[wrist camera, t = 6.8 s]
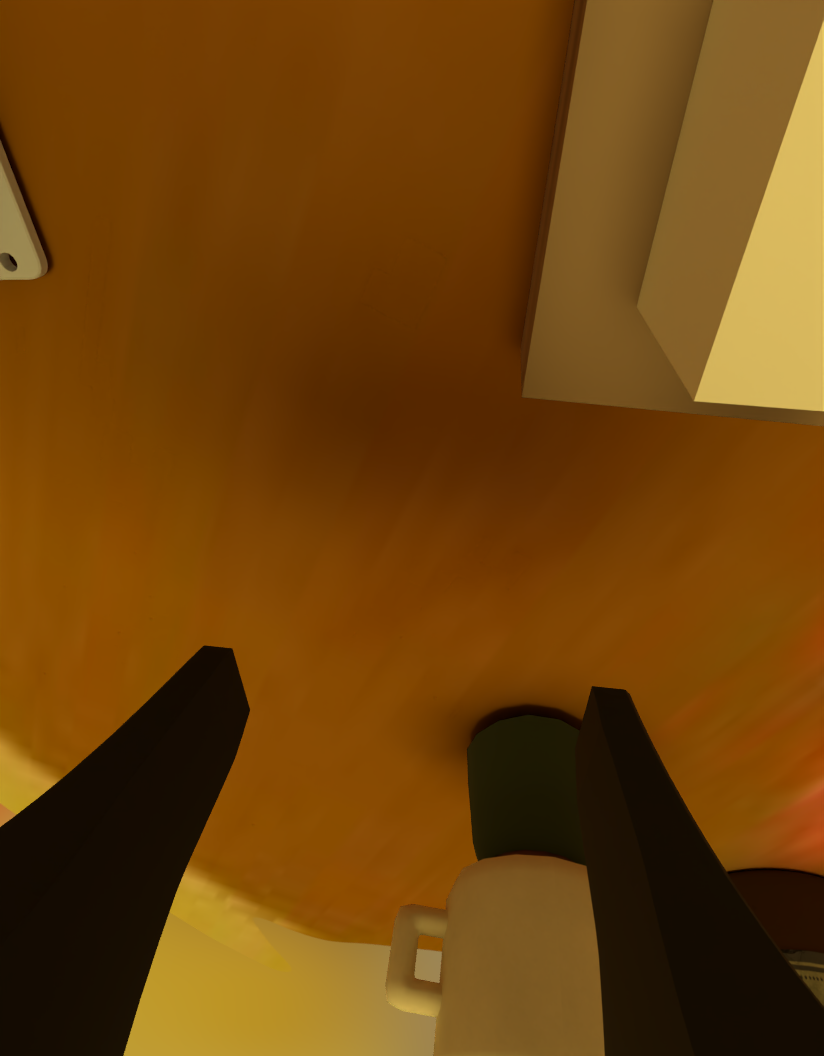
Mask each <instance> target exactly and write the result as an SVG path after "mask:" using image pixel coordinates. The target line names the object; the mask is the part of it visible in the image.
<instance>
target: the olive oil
mask: <svg viewBox="0 0 824 1056" xmlns="http://www.w3.org/2000/svg"><path fill="white" fill-rule="evenodd" d="M728 875H729V876H730V878H731V880H732V881H733V883H734V884H735V886H736V887H737V889H738V890H739V892H740V893H741V895H742V896H743V898H744V899H745V901H746V902H747V903H748V905H749V906H750V908H751V909H752V911H753V912H754V913H755V915H756V916H757V918H758V919H759V921H760V922H761V923H762V925H763V926H764V928H765V929H766V931H767V932H768V933H769V935H770V936H771V938H772V939H773V940H774V942H775V943H776V944H777V946H778V947H779V948H780V950H781V951H782V953H783V954H784V955H785V957H786V958H787V959H788V961H789V962H790V963H791V965H792V966H793V967H794V969H795V970H796V972H797V973H798V974H799V976H800V977H801V978H802V979H803V981H804V982H805V983H806V985H807V986H808V987H809V988H810V990H811V991H812V992H813V993H814V995H815V996H816V997H817V998H818V1000H819V1001H820V1002H821V1003H822V1005H823V1006H824V878H821V877H817V876H813V875H809V874H804V873H798V872H791V871H779V870H755V871H743V872H736V873H730V874H728Z"/></svg>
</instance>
